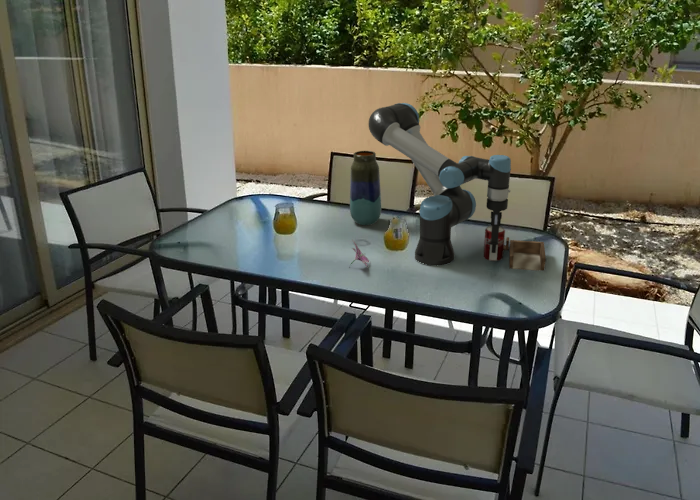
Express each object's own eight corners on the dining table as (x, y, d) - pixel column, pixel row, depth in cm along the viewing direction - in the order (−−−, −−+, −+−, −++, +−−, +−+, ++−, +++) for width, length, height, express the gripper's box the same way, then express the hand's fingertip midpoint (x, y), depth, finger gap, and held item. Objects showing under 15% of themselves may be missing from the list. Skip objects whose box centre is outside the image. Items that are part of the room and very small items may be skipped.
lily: (359, 279, 227) (372, 257, 225) (333, 262, 230) (345, 240, 228) (370, 275, 238) (382, 254, 236) (345, 259, 242) (357, 238, 239)
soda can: (502, 262, 234) (505, 232, 230) (483, 261, 236) (485, 231, 231) (502, 254, 241) (505, 225, 236) (483, 253, 242) (485, 224, 237)
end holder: (509, 268, 230) (510, 255, 228) (509, 252, 243) (510, 239, 241) (544, 271, 227) (545, 257, 225) (542, 254, 241) (543, 242, 239)
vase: (382, 227, 272) (381, 156, 259) (350, 228, 272) (348, 157, 260) (381, 216, 284) (380, 148, 272) (350, 217, 285) (348, 149, 272)
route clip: (495, 249, 246) (496, 240, 245) (495, 246, 250) (496, 236, 248) (508, 250, 245) (509, 240, 244) (508, 246, 248) (509, 237, 247)
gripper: (508, 207, 219) (503, 267, 228) (508, 190, 237) (503, 246, 246) (486, 206, 221) (482, 265, 230) (487, 189, 239) (484, 244, 248)
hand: (493, 255), depth 238 cm, fingers closed on soda can, 7 cm apart
